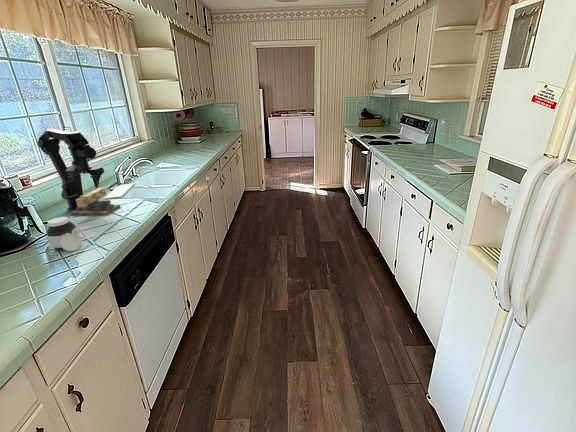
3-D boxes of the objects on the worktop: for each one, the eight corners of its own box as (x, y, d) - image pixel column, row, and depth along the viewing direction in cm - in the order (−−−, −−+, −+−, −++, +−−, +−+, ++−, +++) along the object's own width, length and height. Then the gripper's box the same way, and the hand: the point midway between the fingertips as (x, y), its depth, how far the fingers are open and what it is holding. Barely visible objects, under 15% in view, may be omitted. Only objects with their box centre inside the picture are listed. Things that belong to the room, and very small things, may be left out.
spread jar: (66, 241, 133) (57, 215, 129) (92, 240, 133) (84, 214, 128) (45, 255, 122) (34, 227, 118) (73, 253, 121) (63, 226, 117)
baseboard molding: (100, 201, 188) (122, 198, 189) (99, 196, 186) (120, 194, 188) (116, 187, 216) (135, 185, 218) (115, 183, 215) (134, 181, 217)
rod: (100, 195, 175) (98, 188, 174) (106, 194, 175) (104, 187, 174) (77, 207, 156) (75, 199, 155) (84, 206, 156) (82, 199, 155)
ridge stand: (71, 215, 164) (67, 204, 162) (87, 207, 175) (84, 197, 173) (105, 215, 161) (102, 204, 159) (120, 207, 172) (117, 196, 170)
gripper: (50, 162, 151) (60, 193, 157) (84, 160, 149) (94, 192, 154) (68, 157, 162) (77, 186, 167) (100, 156, 159) (109, 186, 165)
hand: (88, 188), depth 163 cm, fingers open, 9 cm apart
